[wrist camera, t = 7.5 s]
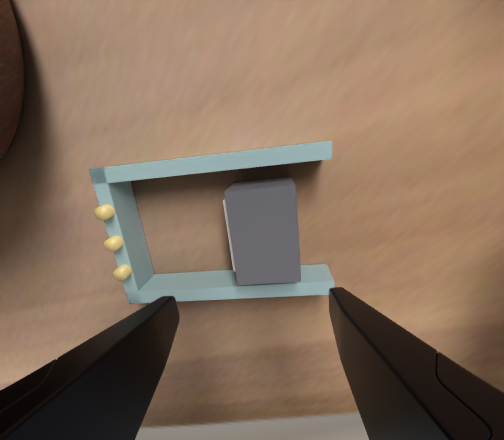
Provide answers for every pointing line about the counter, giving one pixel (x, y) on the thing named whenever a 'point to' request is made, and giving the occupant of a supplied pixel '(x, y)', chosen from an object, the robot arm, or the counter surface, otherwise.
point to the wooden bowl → (9, 76)
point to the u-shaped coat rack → (204, 282)
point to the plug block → (263, 231)
